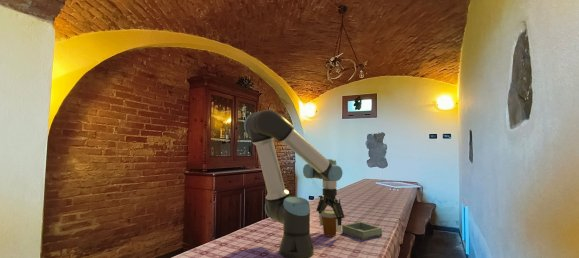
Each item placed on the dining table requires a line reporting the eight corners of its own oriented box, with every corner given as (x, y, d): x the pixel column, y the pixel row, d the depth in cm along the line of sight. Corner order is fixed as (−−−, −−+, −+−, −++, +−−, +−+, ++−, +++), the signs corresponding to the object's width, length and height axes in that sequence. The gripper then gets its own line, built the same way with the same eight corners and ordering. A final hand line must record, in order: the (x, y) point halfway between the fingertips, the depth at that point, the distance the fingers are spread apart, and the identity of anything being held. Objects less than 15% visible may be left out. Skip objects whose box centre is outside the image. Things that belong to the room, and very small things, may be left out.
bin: (362, 240, 147) (362, 232, 147) (342, 232, 160) (342, 225, 160) (381, 235, 154) (381, 228, 155) (360, 228, 167) (360, 221, 167)
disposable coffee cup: (338, 237, 150) (338, 214, 151) (320, 236, 152) (319, 213, 153) (339, 232, 160) (339, 210, 161) (321, 231, 162) (321, 209, 162)
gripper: (351, 190, 149) (351, 233, 148) (320, 184, 170) (320, 222, 169) (340, 191, 145) (340, 235, 144) (310, 185, 166) (310, 223, 165)
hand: (329, 228), depth 156 cm, fingers open, 13 cm apart
